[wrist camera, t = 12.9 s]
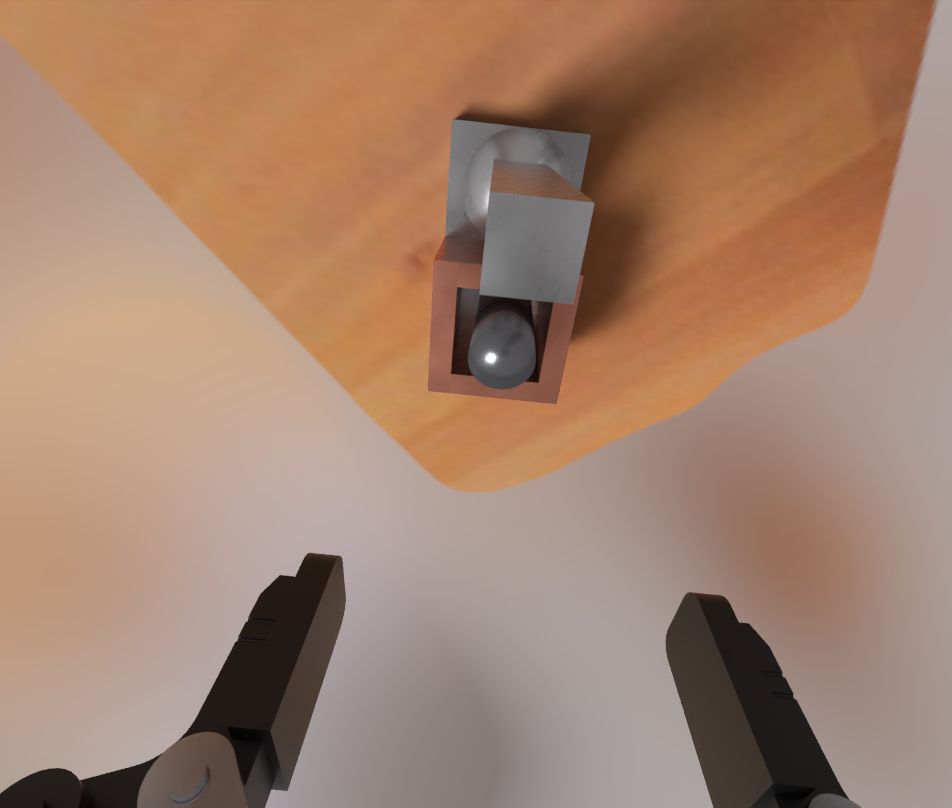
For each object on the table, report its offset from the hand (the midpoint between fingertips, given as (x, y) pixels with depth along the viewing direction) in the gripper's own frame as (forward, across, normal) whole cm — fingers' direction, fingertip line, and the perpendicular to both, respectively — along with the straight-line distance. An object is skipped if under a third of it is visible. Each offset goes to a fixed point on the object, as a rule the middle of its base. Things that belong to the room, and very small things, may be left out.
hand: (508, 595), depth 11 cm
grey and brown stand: (+22, 0, -2) cm, 22 cm away
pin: (+21, 0, 0) cm, 21 cm away
